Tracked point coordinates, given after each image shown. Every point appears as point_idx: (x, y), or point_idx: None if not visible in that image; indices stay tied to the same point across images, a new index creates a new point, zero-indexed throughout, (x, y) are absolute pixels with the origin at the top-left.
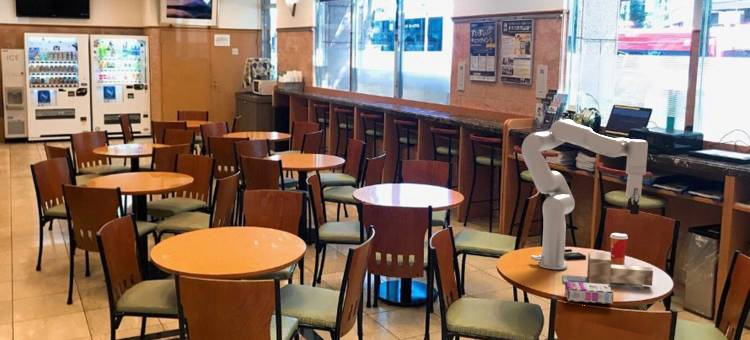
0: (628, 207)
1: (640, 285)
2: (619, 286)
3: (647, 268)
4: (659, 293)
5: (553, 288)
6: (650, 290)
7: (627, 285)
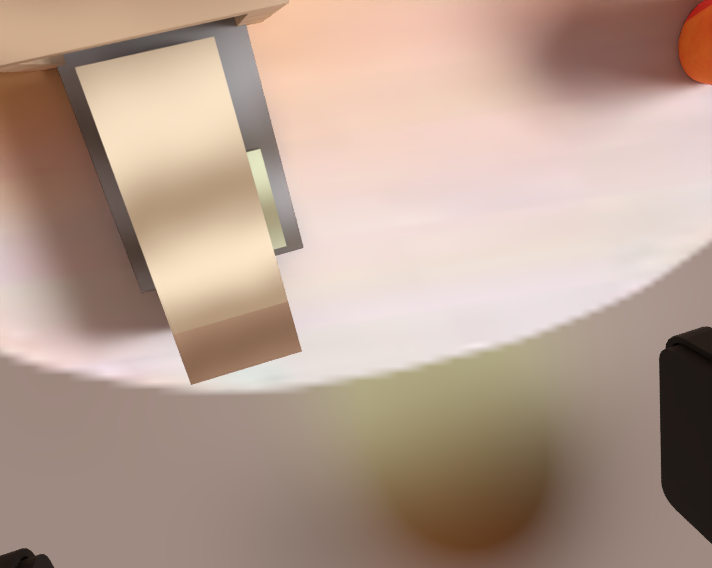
0: (706, 387)
1: None
2: (84, 140)
3: (252, 337)
4: (131, 378)
5: None
6: None
7: None
